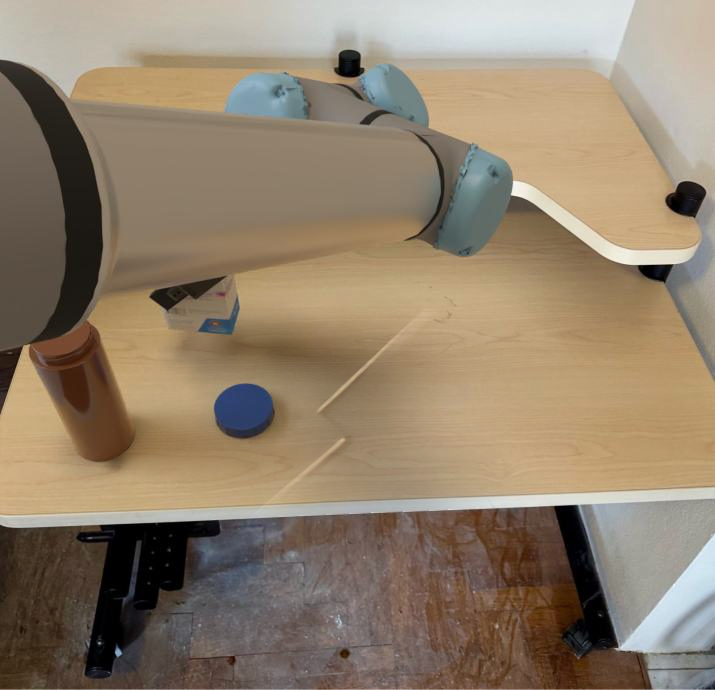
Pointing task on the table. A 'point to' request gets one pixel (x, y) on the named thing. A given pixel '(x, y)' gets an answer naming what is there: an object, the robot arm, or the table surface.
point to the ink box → (207, 310)
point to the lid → (243, 410)
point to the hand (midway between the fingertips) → (168, 285)
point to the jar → (85, 392)
